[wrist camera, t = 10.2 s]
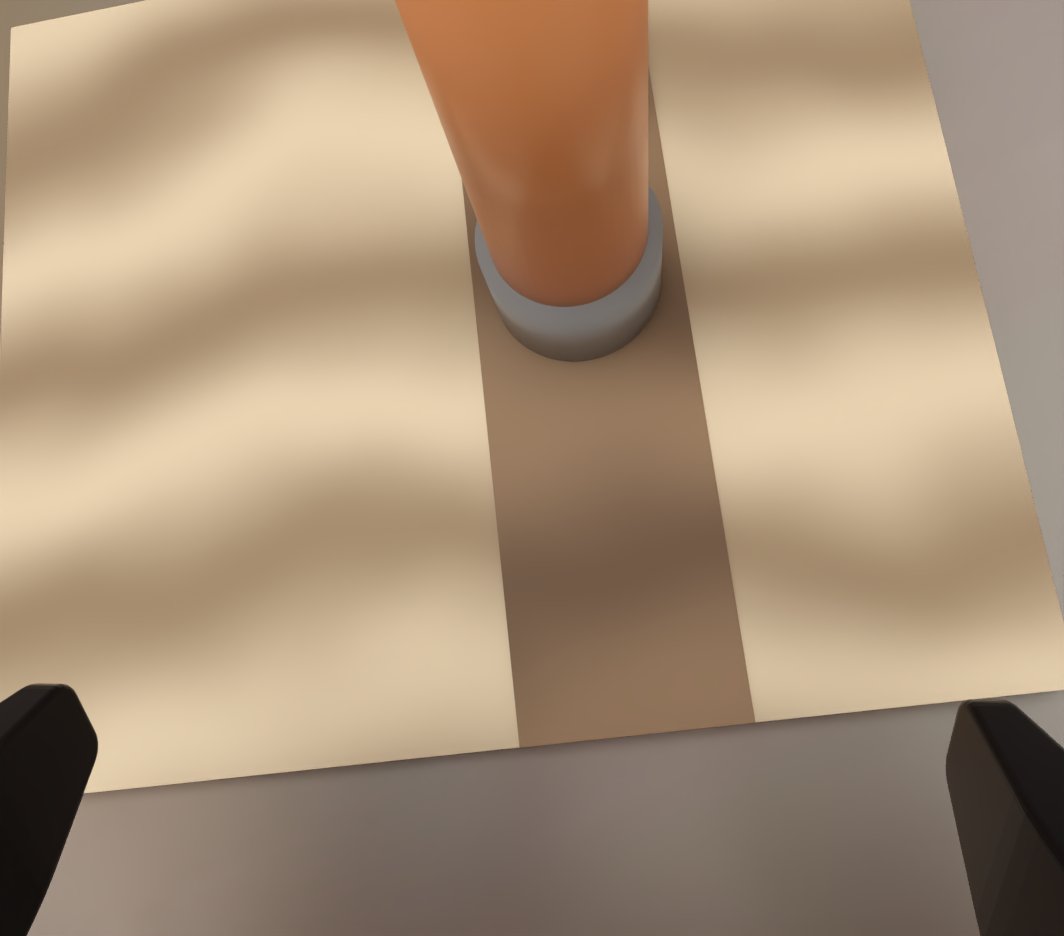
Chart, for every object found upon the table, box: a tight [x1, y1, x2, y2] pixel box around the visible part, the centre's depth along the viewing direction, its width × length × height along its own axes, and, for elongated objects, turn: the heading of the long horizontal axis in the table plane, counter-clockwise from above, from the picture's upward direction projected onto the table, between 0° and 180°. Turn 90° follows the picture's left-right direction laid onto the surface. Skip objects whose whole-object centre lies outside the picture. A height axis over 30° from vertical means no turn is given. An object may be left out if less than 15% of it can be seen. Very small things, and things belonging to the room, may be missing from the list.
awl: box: [395, 0, 663, 361], centre depth 15 cm, size 4×4×13 cm
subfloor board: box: [0, 0, 1064, 793], centre depth 22 cm, size 21×24×2 cm
